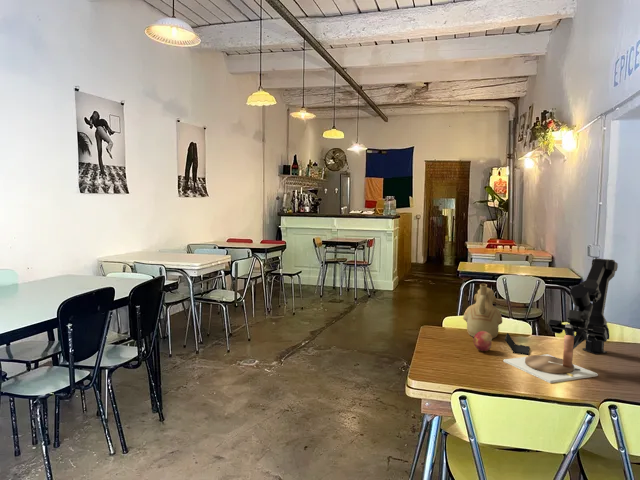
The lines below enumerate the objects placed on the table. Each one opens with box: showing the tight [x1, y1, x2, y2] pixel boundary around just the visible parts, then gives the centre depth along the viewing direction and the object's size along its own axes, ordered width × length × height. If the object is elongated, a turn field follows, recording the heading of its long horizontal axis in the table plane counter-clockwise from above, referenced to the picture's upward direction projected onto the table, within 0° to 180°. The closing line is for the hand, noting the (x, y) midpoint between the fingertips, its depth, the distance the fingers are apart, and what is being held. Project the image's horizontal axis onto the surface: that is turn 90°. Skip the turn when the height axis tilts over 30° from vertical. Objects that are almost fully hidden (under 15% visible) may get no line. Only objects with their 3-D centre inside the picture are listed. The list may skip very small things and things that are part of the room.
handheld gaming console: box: [504, 332, 531, 356], centre depth 189 cm, size 12×7×10 cm
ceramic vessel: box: [462, 283, 503, 339], centre depth 209 cm, size 17×20×25 cm
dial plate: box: [502, 353, 599, 384], centre depth 168 cm, size 22×22×1 cm
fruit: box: [472, 331, 493, 352], centre depth 187 cm, size 8×8×8 cm
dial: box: [525, 334, 575, 374], centre depth 167 cm, size 16×16×12 cm
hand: (571, 349), depth 164 cm, fingers closed, pressing on dial
